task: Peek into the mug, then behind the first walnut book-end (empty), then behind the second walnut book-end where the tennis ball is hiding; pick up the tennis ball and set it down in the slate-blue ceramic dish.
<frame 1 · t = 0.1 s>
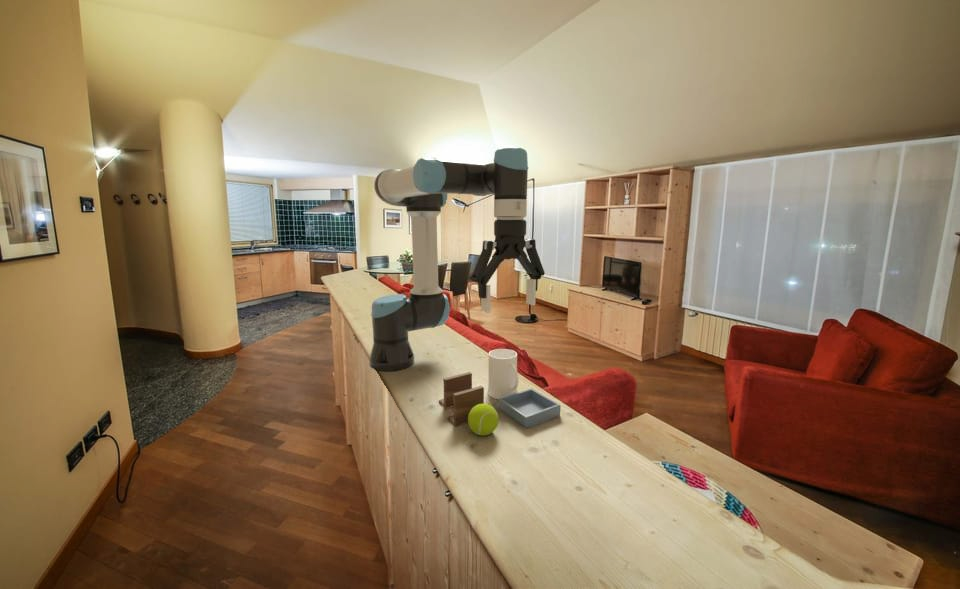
hand: (509, 307, 91), 28 cm above the worktop, fingers open, 13 cm apart
dish: (528, 412, 97), on the worktop
mug: (505, 396, 106), on the worktop
bookend 2: (468, 420, 93), on the worktop
tennis ball: (483, 433, 88), on the worktop
bookend 1: (458, 403, 101), on the worktop
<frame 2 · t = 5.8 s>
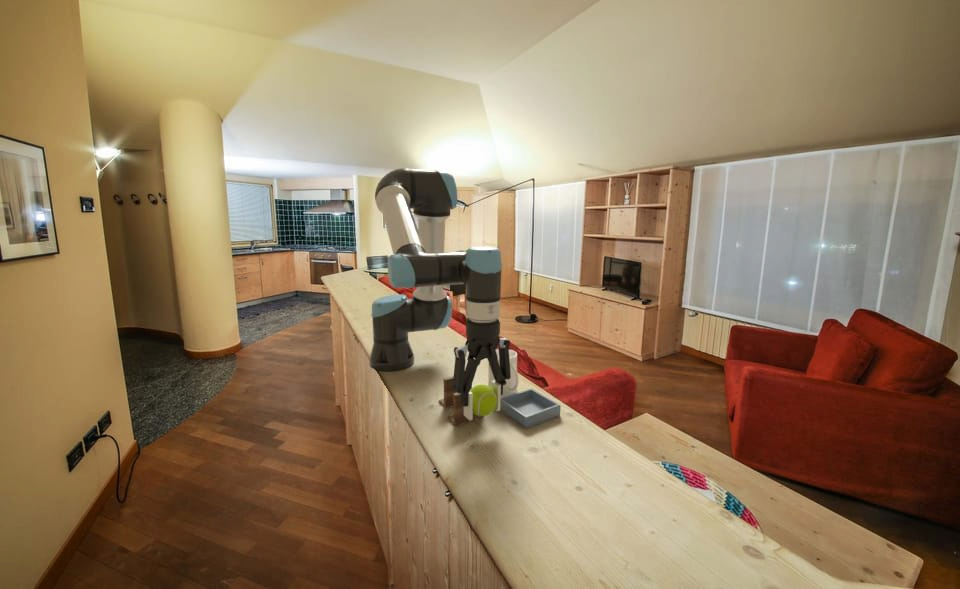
hand: (482, 412, 87), 5 cm above the worktop, fingers closed on tennis ball, 7 cm apart
tennis ball: (481, 414, 87), point 4 cm above the worktop, touching gripper
everything else where it was.
when the fingers open (4 cm above the worktop, at t = 9.1 s): tennis ball drops 4 cm, resting on dish.
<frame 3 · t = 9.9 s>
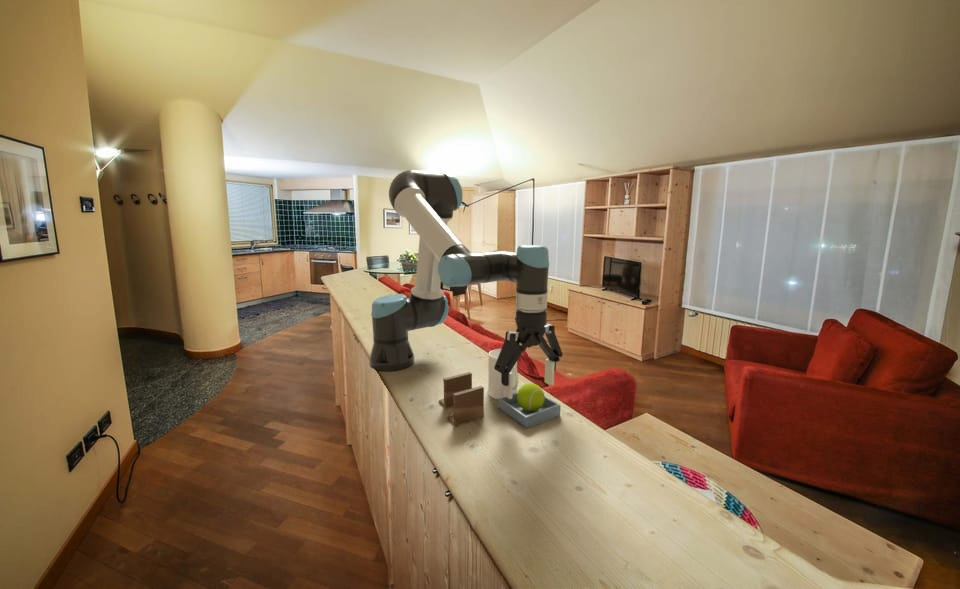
hand: (529, 390, 95), 6 cm above the worktop, fingers open, 13 cm apart
tennis ball: (530, 410, 97), resting on dish
everything else where it was.
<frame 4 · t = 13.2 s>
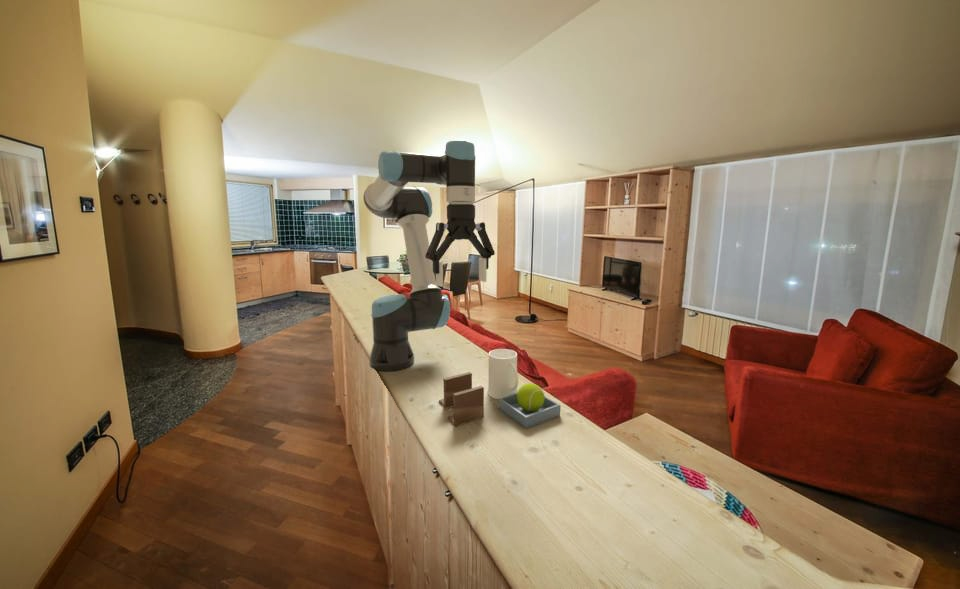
hand: (461, 283, 103), 32 cm above the worktop, fingers open, 13 cm apart
nothing on the worktop moved.
at the end: tennis ball inside the target area on the dish (0.6 cm from its centre), point 0.3 cm above the dish's base; the gripper is holding nothing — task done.
